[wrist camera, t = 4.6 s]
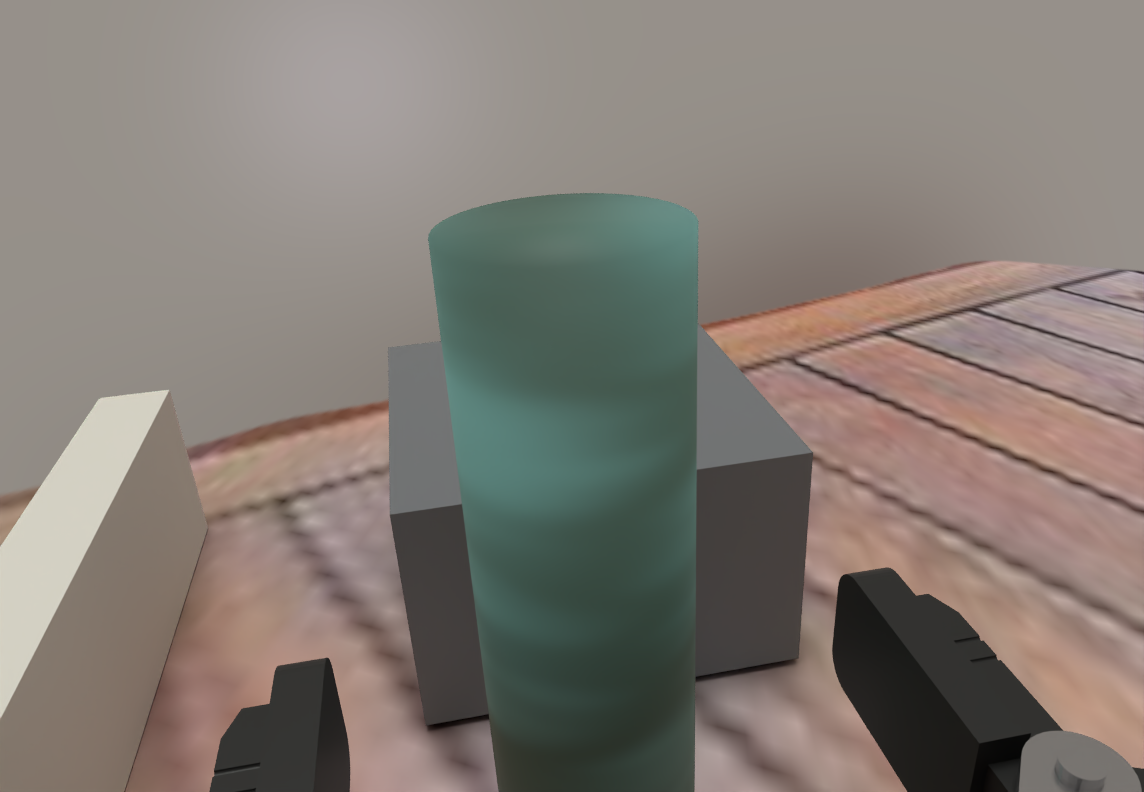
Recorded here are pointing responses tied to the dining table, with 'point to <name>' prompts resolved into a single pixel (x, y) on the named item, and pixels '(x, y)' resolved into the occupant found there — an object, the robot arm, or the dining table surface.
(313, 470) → the dining table surface
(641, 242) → the dowel
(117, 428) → the wall
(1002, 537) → the dining table surface
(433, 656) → the socket block
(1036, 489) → the dining table surface
